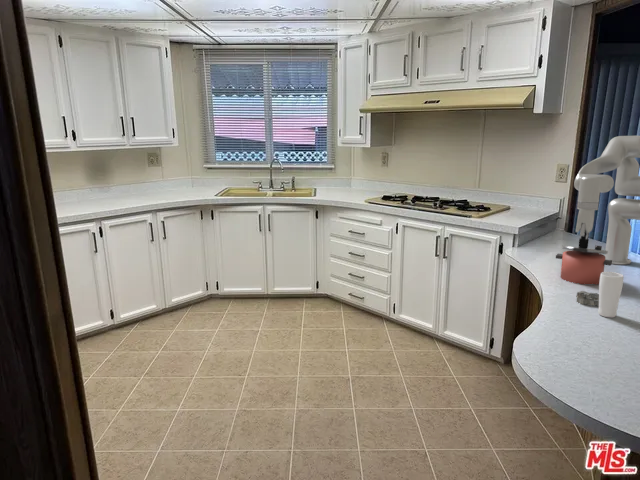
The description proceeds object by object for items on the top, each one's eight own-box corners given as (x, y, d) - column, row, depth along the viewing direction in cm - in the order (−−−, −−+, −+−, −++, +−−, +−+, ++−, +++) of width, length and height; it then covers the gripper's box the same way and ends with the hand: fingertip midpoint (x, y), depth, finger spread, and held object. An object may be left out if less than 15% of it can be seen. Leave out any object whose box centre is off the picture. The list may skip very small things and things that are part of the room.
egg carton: (574, 304, 164) (575, 293, 163) (576, 298, 170) (577, 288, 169) (608, 309, 158) (609, 298, 157) (609, 302, 164) (610, 292, 163)
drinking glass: (622, 319, 148) (627, 277, 145) (600, 318, 150) (605, 277, 146) (613, 311, 155) (618, 271, 152) (592, 311, 156) (597, 271, 153)
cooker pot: (560, 269, 205) (562, 247, 203) (612, 277, 192) (615, 253, 190) (550, 279, 192) (552, 255, 190) (605, 288, 179) (609, 262, 176)
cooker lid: (566, 248, 201) (567, 242, 200) (609, 253, 190) (610, 246, 190) (557, 248, 186) (558, 241, 185) (603, 254, 175) (604, 246, 175)
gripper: (581, 203, 190) (576, 243, 194) (573, 207, 179) (569, 250, 183) (601, 204, 185) (596, 245, 189) (594, 208, 174) (589, 252, 178)
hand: (583, 247), depth 186 cm, fingers closed
